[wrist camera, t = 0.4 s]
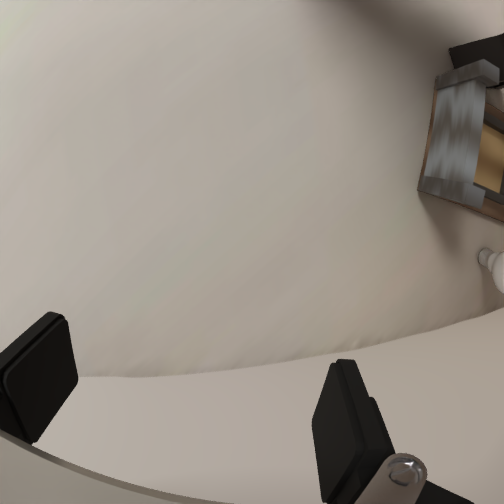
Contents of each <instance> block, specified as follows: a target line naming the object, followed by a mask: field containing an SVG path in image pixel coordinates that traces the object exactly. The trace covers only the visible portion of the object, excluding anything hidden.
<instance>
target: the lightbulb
mask: <svg viewBox="0 0 504 504" xmlns="http://www.w3.org/2000/svg"><path fill="white" fill-rule="evenodd" d="M479 263H480V264H481V265H483V266H485V267H486V268H488V269H489V271H490V272H491V274H492V277H493V281H494V284H495V286H496V287H497V289H498V290H499V291H500V292H501V293H503V294H504V251H503V252H494V251H492V250H490V249H488V248H484V249H483V250H482V251H481V252H480V254H479Z"/></svg>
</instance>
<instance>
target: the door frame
mask: <svg viewBox="0 0 504 504" xmlns="http://www.w3.org/2000/svg"><path fill="white" fill-rule="evenodd" d="M494 85H499V68H498V67H496V66H494V65H493V64H491V63H490V62H488V61H487V60H485V59H482V60H479V61H476V62H473V63H471V64H468V65H465V66H463V67H460V68H457V69H455V70H452V71H450V72H447V73H445V74H442V75H440V76H437V78H436V80H435V90H434V98H433V106H432V113H431V120H430V126H429V133H428V138H427V144H426V150H425V155H424V160H423V165H422V170H421V175H420V179H419V184H418V188H417V190H419V191H422V192H425V193H428V194H431V195H433V196H436V197H439V198H442V199H445V200H448V201H451V202H453V203H456V204H459V205H462V206H464V207H467V208H470V209H472V210H475V211H477V212H480V213H482V214H485V215H488V216H490V217H492V218H495V219H497V220H500V221H502V222H504V113H503V112H501V111H500V110H498V109H496V108H495V107H493V106H491V105H490V104H488V103H486V102H485V95H486V87H490V86H494Z"/></svg>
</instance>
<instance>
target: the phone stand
mask: <svg viewBox="0 0 504 504" xmlns="http://www.w3.org/2000/svg"><path fill="white" fill-rule="evenodd" d="M449 51H450V54H451V57H452V61H453V64H454V67H455V69H457V68H460V67H463V66H465V65H468V64H471V63H473V62H476V61H479V60H482V59H485V60H487V61H488V62H490V63H491V64H493V65H494V66H496V67H498V68H499V85H494V86H490V87H486V88H493V89H502V88H504V33H503V34H500V35H497V36H493V37H489V38H485V39H481V40H478V41H474V42H470V43H467V44H463V45H460V46H456V47H453V48H450V49H449Z"/></svg>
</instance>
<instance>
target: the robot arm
mask: <svg viewBox="0 0 504 504" xmlns="http://www.w3.org/2000/svg"><path fill="white" fill-rule="evenodd" d="M77 383H78V373H77V369H76V364H75V359H74V354H73V349H72V344H71V338H70V332H69V326H68V322H67V320H65V317H64V316H63V315H62V314H58V313H54V312H47V313H46V314H45V315H44V316H43V317H41V318H40V319H39V320H38V321H37V322H35V323H34V324H33V325H32V326H31V327H30V328H28V329H27V330H26V331H25V332H24V333H23V334H21V335H20V336H19V337H18V338H17V339H16V340H15V341H14V342H12V343H11V344H10V345H9V346H8V347H7V348H6V349H5V350H3V351H2V352H1V353H0V504H231V503H223V502H216V501H208V500H202V499H196V498H190V497H186V496H180V495H175V494H171V493H166V492H162V491H158V490H153V489H149V488H145V487H142V486H138V485H134V484H131V483H127V482H124V481H120V480H117V479H114V478H111V477H108V476H105V475H102V474H99V473H96V472H93V471H91V470H88V469H85V468H82V467H80V466H77V465H75V464H72V463H69V462H67V461H65V460H62V459H60V458H58V457H55V456H53V455H51V454H48V453H46V452H44V451H42V450H40V449H38V448H35V447H34V446H32V444H33V443H35V442H37V441H38V440H39V438H40V437H41V435H42V434H43V432H44V431H45V429H46V428H47V426H48V425H49V423H50V422H51V420H52V419H53V417H54V416H55V415H56V413H57V412H58V410H59V409H60V407H61V406H62V405H63V403H64V402H65V400H66V399H67V398H68V396H69V395H70V394H71V392H72V391H73V389H74V388H75V387H76V385H77ZM312 432H313V439H314V445H315V453H316V460H317V466H318V475H319V483H320V491H321V498H322V502H323V503H327V504H474V503H473V502H471V501H469V500H467V499H465V498H463V497H461V496H459V495H456V494H454V493H452V492H450V491H448V490H446V489H444V488H441V487H439V486H437V485H435V484H433V483H431V482H429V481H427V480H426V479H427V469H426V467H425V465H424V463H423V462H422V461H421V460H420V459H418V458H417V457H415V456H413V455H410V454H407V453H398V454H396V453H395V450H394V447H393V445H392V442H391V439H390V437H389V434H388V431H387V429H386V426H385V423H384V421H383V418H382V416H381V413H380V411H379V408H378V405H377V403H376V401H375V399H374V398H373V397H369V395H368V392H367V390H366V387H365V385H364V382H363V379H362V377H361V374H360V372H359V369H358V367H357V364H356V362H355V360H348V359H338V360H337V361H336V363H331V365H330V367H329V371H328V374H327V377H326V380H325V383H324V386H323V389H322V392H321V395H320V398H319V401H318V404H317V406H316V409H315V412H314V415H313V418H312Z"/></svg>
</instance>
